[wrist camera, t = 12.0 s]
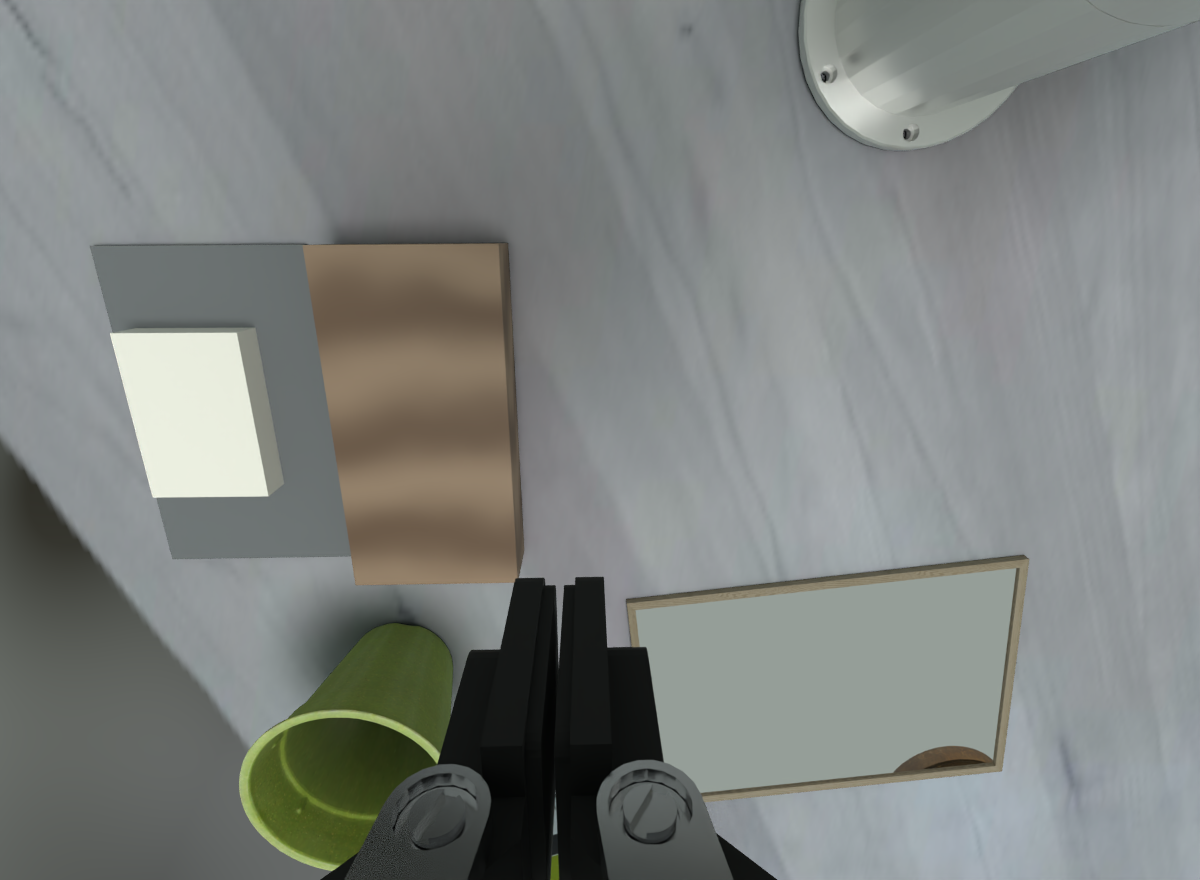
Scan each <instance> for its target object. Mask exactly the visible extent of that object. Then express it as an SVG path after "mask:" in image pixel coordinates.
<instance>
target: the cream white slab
mask: <svg viewBox="0 0 1200 880" xmlns="http://www.w3.org/2000/svg"><path fill="white" fill-rule="evenodd" d="M110 336H111V340H112V343H113V347H114V351H115V355H116V359H117V362H118V366H119V370H120V374H121V378H122V382H123V385H124V389H125V393H126V397H127V401H128V404H129V408H130V412H131V416H132V420H133V424H134V427H135V431H136V435H137V439H138V443H139V447H140V450H141V454H142V458H143V462H144V466H145V469H146V473H147V477H148V481H149V485H150V489H151V492H152V496H153V498H161V497H261V496H270V495H271V494H272V493H273V492H275V491H276V490H277V489H278V488H279V487H281V486H282V485H283V484H284V481H283V475H282V470H281V464H280V459H279V453H278V448H277V442H276V437H275V432H274V426H273V421H272V415H271V410H270V404H269V399H268V394H267V388H266V383H265V377H264V372H263V366H262V361H261V355H260V350H259V345H258V339H257V334H256V328H134V329H129V330H124V331H119V332H114V333H110Z"/></svg>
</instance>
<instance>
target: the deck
mask: <svg viewBox="0 0 1200 880" xmlns="http://www.w3.org/2000/svg"><path fill="white" fill-rule="evenodd" d="M303 252H304V258H305V264H306V271H307V277H308V284H309V290H310V296H311V303H312V309H313V315H314V322H315V328H316V335H317V341H318V347H319V354H320V360H321V367H322V373H323V379H324V386H325V392H326V399H327V405H328V411H329V418H330V424H331V430H332V437H333V443H334V450H335V456H336V462H337V469H338V475H339V482H340V488H341V494H342V501H343V507H344V513H345V520H346V526H347V533H348V539H349V545H350V552H351V558H352V565H353V571H354V577H355V584H356V585H397V584H457V583H514V582H515V579H516V578H519V574H520V569H521V564H522V559H523V554H524V538H523V518H522V499H521V480H520V461H519V442H518V423H517V404H516V385H515V366H514V347H513V328H512V309H511V290H510V270H509V251H508V243H445V244H325V245H303Z"/></svg>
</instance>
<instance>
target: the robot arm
mask: <svg viewBox="0 0 1200 880" xmlns="http://www.w3.org/2000/svg"><path fill="white" fill-rule="evenodd" d="M1199 20H1200V0H802V1H801V6H800V18H799V29H798V34H799V47H800V58H801V62H802V66H803V70H804V73H805V77H806V81H807V83H808V86H809V88H810V90H811V92H812V94H813V96H814V98H815V100H816V103H817V104H818V105H819V107H820V108H821V109H822V111H823V112H824V113H825V115H826V116H827V117H828V119H829V120H830V121H831V122H832V123H833V124H834V125H836V126H837V127H838V128H839V129H840V130H841V131H843V132H844V133H845V134H846V135H848V136H850V137H851V138H853V139H855V140H857V141H859V142H861V143H863V144H865V145H868V146H872V147H875V148H879V149H883V150H894V151H910V150H916V149H922V148H928V147H931V146H935V145H938V144H941V143H945V142H948V141H950V140H952V139H954V138H956V137H958V136H960V135H963V134H965V133H967V132H969V131H970V130H971V129H973V128H974V127H976V126H977V125H979V124H980V123H981V122H983V121H984V120H986V119H987V118H988V117H990V116H991V115H992V114H993V113H994V112H995V111H996V110H997V109H998V108H999V107H1000V106H1001V105H1002V104H1003V103H1004V102H1005V101H1006V100H1007V99H1008V98H1009V96H1010V95H1011V94H1012V92H1013V91H1014V90H1015V89H1016V87H1017V86H1018V85H1019V84H1021V83H1024V82H1026V81H1029V80H1032V79H1035V78H1038V77H1041V76H1043V75H1046V74H1049V73H1052V72H1055V71H1058V70H1060V69H1063V68H1066V67H1069V66H1072V65H1075V64H1077V63H1080V62H1083V61H1086V60H1089V59H1092V58H1094V57H1097V56H1100V55H1103V54H1106V53H1109V52H1111V51H1114V50H1117V49H1120V48H1123V47H1126V46H1128V45H1131V44H1134V43H1137V42H1140V41H1143V40H1145V39H1148V38H1151V37H1154V36H1157V35H1160V34H1162V33H1165V32H1168V31H1171V30H1174V29H1177V28H1179V27H1182V26H1185V25H1188V24H1191V23H1194V22H1196V21H1199ZM821 73H824V74H825V75H826V77H827V80H826V82H825V83H824V82H823V81H822V80H821V76H820V74H821ZM903 131H906V133H907V136H906V139H904V138H903ZM555 791H556V812H557V838H558V864H559V880H777V879H776V878H774V877H773V876H772V875H770V874H769V873H768V872H766V871H765V870H764V869H762V868H761V867H760V866H758V865H757V864H756V863H755V862H753V861H752V860H751V859H749V858H748V857H747V856H745V855H744V854H743V853H741V852H740V851H739V850H738V849H736V848H735V847H734V846H732V845H731V844H730V843H728V842H727V841H726V840H724V839H723V838H722V837H720V836H719V835H718V834H717V833H716V832H715V829H714V827H713V824H712V821H711V819H710V816H709V813H708V811H707V808H706V805H705V803H704V800H703V797H702V795H701V793H700V792H699V790H698V788H697V786H696V785H695V783H694V782H693V781H692V780H691V779H690V778H689V777H688V776H687V775H686V774H685V773H684V772H683V771H681V770H679V769H678V768H676V767H674V766H672V765H670V764H668V763H664V759H663V752H662V746H661V739H660V732H659V725H658V718H657V711H656V705H655V698H654V691H653V684H652V677H651V670H650V664H649V657H648V651H647V648H646V647H613V648H607V634H606V614H605V594H604V577H576V578H575V585H564V597H563V612H562V628H561V643H560V658H559V664H558V635H557V605H556V586H555V585H547V586H545V579H544V578H516V579H515V582H514V587H513V592H512V597H511V601H510V606H509V611H508V616H507V620H506V625H505V630H504V635H503V639H502V644H501V649H500V650H471V651H470V652H469V655H468V658H467V661H466V665H465V668H464V672H463V675H462V679H461V682H460V686H459V689H458V693H457V696H456V700H455V703H454V707H453V710H452V714H451V717H450V721H449V724H448V728H447V731H446V735H445V739H444V742H443V746H442V749H441V753H440V756H439V760H438V763H437V765H436V766H433V767H429V768H425V769H422V770H421V771H419V772H417V773H415V774H413V775H411V776H409V777H408V778H406V779H405V780H404V781H403V782H402V783H401V784H400V785H398V786H397V787H396V788H395V789H394V790H393V792H392V793H391V795H390V796H389V797H388V799H387V800H386V802H385V803H384V805H383V807H382V809H381V811H380V813H379V814H378V816H377V818H376V820H375V822H374V824H373V826H372V828H371V830H370V832H369V833H368V835H367V837H366V839H365V841H364V843H363V845H362V847H361V849H360V851H359V852H358V853H357V854H355V855H354V856H352V857H351V858H350V859H348V860H347V861H346V862H344V863H343V864H341V865H340V866H339V867H337V868H336V869H335V870H333V871H332V872H331V873H329V874H328V875H326V876H325V877H324V878H322V879H321V880H550V879H551V861H552V844H553V826H554V808H555Z"/></svg>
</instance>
